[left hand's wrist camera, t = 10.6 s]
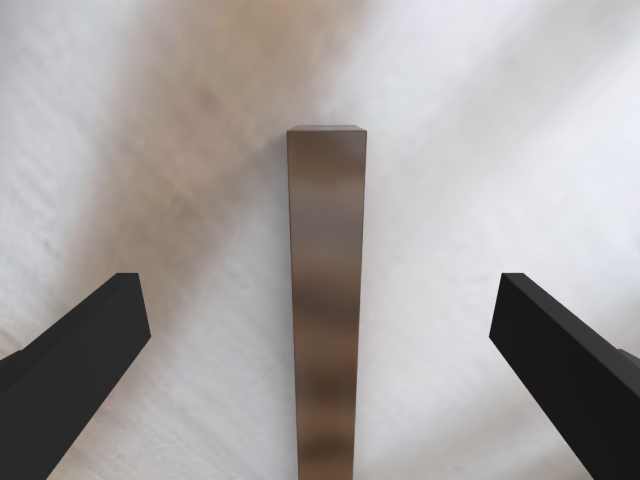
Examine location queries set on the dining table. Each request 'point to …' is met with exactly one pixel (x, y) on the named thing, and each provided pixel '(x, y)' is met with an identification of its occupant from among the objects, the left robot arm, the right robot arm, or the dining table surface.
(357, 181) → the bar
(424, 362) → the dining table surface
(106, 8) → the dining table surface
